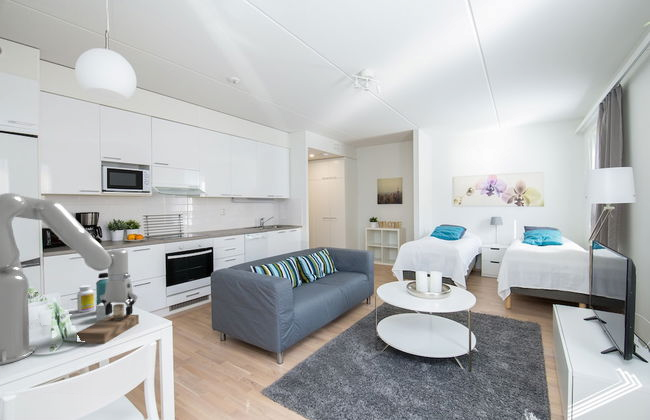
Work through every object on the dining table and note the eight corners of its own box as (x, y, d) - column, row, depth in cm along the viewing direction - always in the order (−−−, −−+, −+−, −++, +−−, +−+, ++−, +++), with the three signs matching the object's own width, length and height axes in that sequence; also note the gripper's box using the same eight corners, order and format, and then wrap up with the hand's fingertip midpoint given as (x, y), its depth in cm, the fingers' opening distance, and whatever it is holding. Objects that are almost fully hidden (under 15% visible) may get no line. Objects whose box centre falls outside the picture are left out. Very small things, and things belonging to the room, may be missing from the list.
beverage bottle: (103, 314, 152) (102, 275, 151) (92, 313, 153) (92, 274, 152) (115, 309, 158) (114, 272, 157) (104, 308, 159) (103, 271, 159)
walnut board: (104, 343, 121) (104, 333, 120) (76, 342, 121) (76, 332, 121) (138, 323, 141) (138, 314, 140) (114, 322, 141) (114, 314, 141)
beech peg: (120, 329, 134) (119, 306, 134) (111, 328, 134) (110, 306, 134) (126, 325, 138) (126, 303, 138) (118, 324, 139) (117, 303, 138)
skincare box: (116, 315, 150) (116, 300, 150) (109, 320, 144) (109, 305, 144) (103, 316, 150) (103, 301, 149) (96, 320, 143) (95, 305, 143)
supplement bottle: (97, 308, 160) (96, 284, 159) (84, 313, 153) (84, 288, 153) (87, 307, 161) (86, 283, 161) (74, 312, 155) (73, 287, 154)
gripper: (142, 275, 139) (142, 311, 139) (106, 274, 140) (107, 310, 141) (130, 279, 131) (131, 318, 132) (93, 278, 133) (94, 317, 133)
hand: (119, 314), depth 136 cm, fingers open, 9 cm apart
